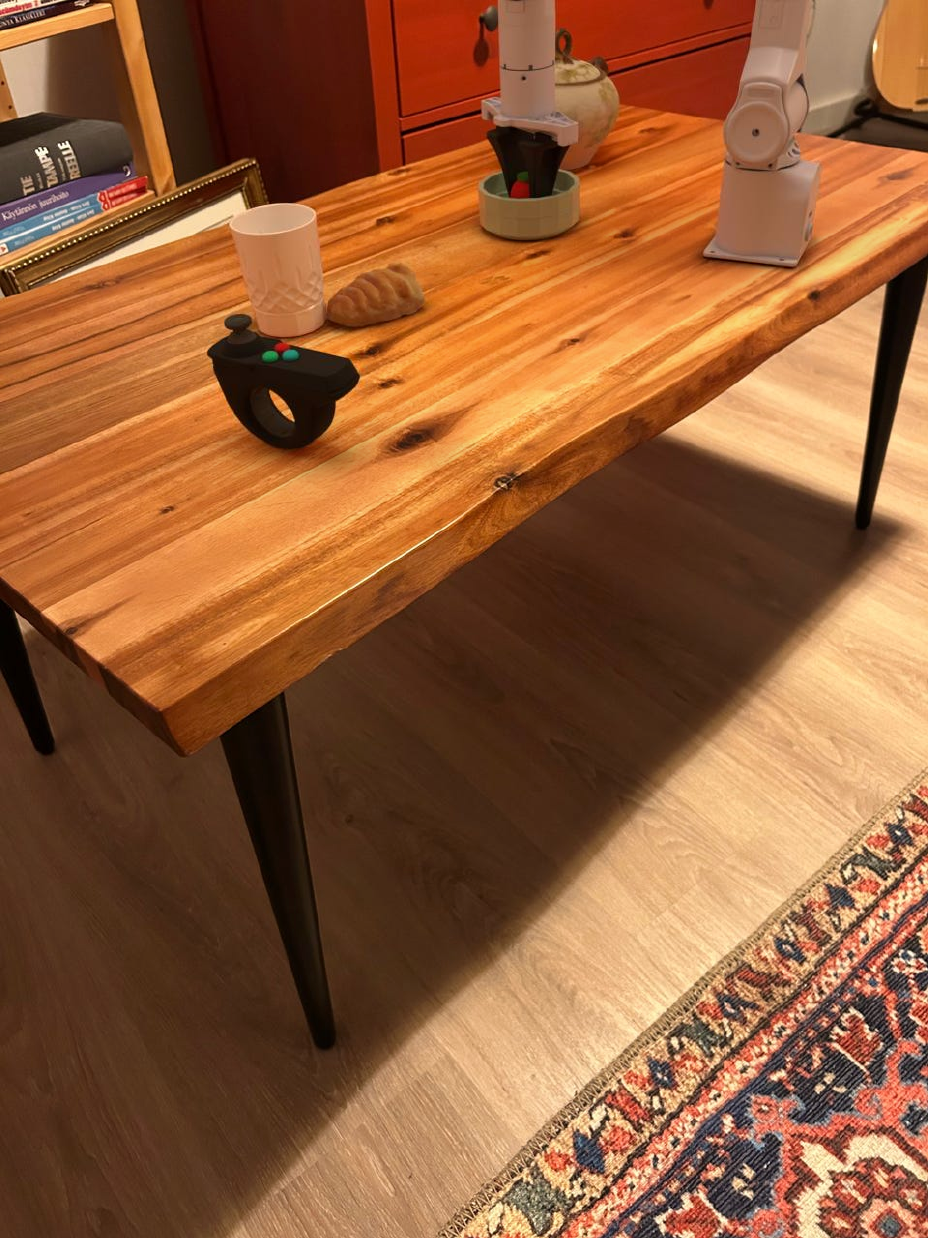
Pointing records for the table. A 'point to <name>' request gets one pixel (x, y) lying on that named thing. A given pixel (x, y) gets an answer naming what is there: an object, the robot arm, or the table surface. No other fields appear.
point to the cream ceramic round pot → (584, 101)
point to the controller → (279, 384)
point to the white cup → (281, 267)
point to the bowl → (529, 208)
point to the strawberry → (521, 187)
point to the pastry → (377, 297)
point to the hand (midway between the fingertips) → (529, 200)
